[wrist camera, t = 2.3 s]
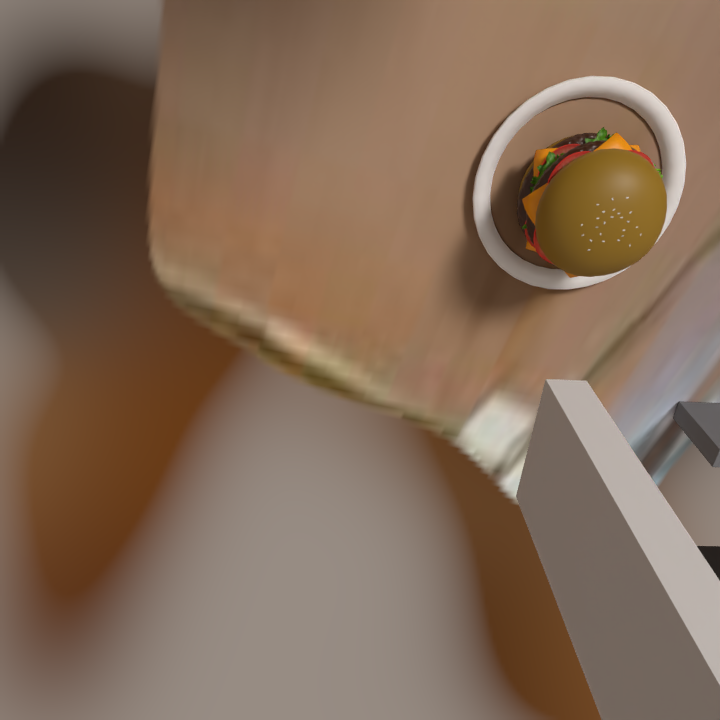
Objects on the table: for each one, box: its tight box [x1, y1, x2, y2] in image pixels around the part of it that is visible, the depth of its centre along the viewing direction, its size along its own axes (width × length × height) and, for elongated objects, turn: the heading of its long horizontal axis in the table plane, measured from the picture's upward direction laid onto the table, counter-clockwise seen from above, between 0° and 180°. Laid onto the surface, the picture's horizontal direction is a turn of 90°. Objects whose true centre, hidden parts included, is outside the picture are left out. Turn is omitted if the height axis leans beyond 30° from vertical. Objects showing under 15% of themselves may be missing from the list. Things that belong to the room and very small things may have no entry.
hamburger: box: [472, 76, 686, 289], centre depth 27 cm, size 12×12×6 cm
